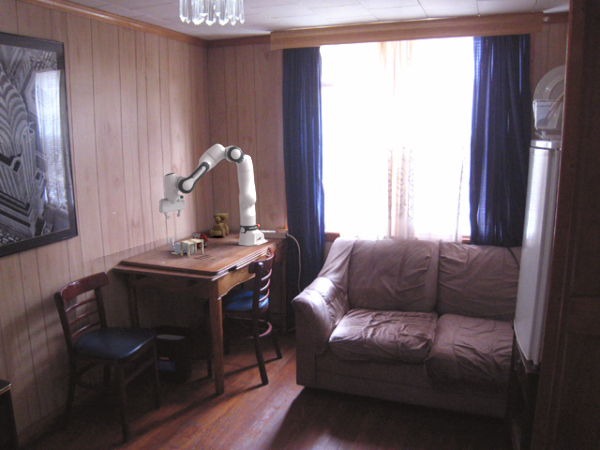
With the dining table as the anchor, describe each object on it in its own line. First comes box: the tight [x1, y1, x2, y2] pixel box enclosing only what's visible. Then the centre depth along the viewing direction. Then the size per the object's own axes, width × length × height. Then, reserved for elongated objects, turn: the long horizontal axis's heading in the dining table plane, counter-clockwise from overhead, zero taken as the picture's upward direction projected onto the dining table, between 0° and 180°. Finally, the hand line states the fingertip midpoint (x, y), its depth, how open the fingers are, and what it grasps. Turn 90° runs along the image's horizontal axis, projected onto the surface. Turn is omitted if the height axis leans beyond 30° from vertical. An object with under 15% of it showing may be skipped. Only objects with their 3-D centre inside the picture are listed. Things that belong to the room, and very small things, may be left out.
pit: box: [194, 253, 213, 260], centre depth 323 cm, size 10×6×1 cm, turn 144°
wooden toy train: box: [209, 212, 230, 238], centre depth 390 cm, size 20×11×17 cm, turn 174°
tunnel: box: [179, 238, 205, 259], centre depth 328 cm, size 13×8×10 cm, turn 144°
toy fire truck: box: [191, 232, 209, 249], centre depth 350 cm, size 7×12×10 cm, turn 68°
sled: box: [169, 237, 195, 254], centre depth 334 cm, size 6×23×8 cm, turn 54°
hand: (173, 217), depth 340 cm, fingers open, 8 cm apart
